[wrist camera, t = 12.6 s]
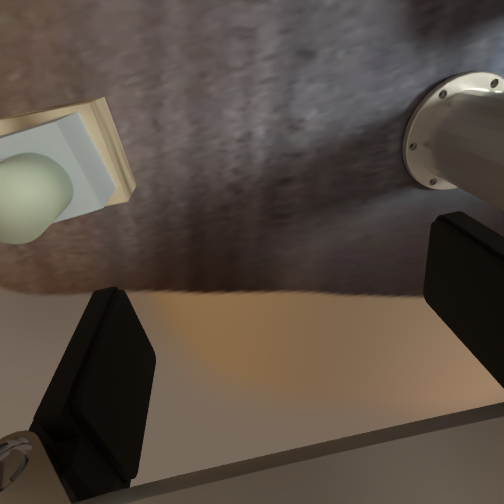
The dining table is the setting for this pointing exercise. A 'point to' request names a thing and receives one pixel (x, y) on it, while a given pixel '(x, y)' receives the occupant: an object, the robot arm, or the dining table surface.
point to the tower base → (99, 130)
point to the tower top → (66, 159)
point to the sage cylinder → (31, 196)
